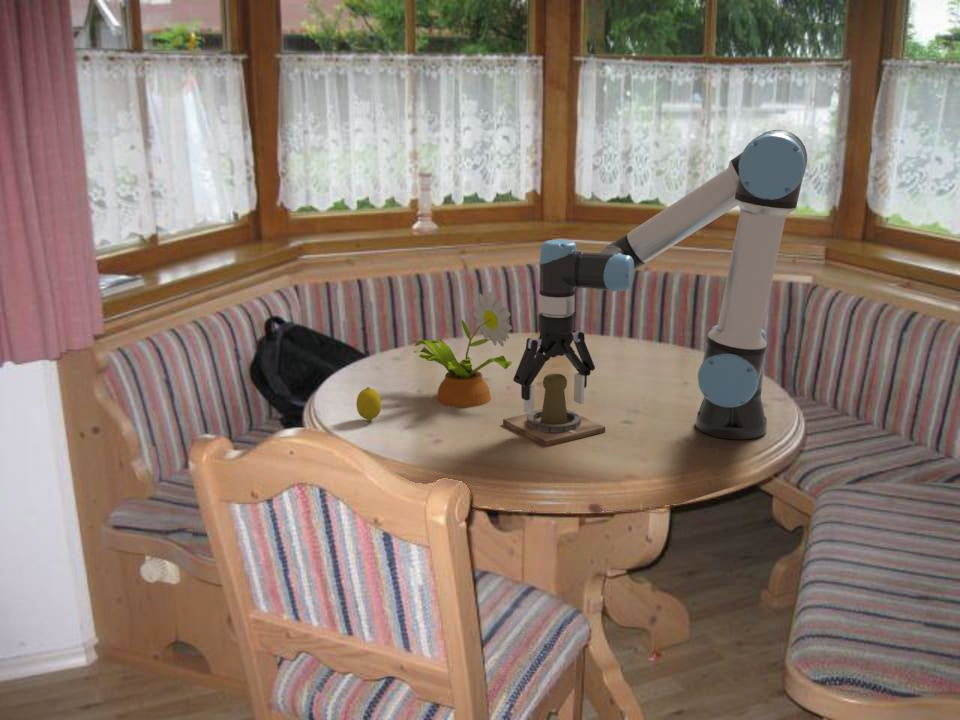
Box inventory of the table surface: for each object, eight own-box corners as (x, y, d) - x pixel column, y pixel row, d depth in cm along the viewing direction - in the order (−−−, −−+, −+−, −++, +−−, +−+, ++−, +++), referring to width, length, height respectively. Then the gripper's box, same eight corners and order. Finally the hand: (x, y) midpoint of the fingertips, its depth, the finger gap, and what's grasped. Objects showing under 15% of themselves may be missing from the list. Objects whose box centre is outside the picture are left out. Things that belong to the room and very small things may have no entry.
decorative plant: (532, 400, 234) (534, 297, 227) (459, 424, 218) (458, 315, 211) (455, 376, 253) (455, 280, 246) (382, 396, 237) (379, 295, 230)
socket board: (605, 432, 214) (605, 421, 213) (546, 446, 205) (546, 435, 205) (560, 411, 226) (560, 401, 226) (503, 424, 218) (503, 413, 217)
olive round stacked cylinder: (539, 418, 218) (539, 370, 215) (566, 417, 218) (567, 370, 215) (541, 427, 212) (542, 379, 209) (569, 427, 213) (570, 378, 210)
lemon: (358, 426, 217) (356, 391, 215) (356, 417, 222) (355, 384, 220) (383, 424, 218) (382, 390, 216) (380, 416, 223) (379, 382, 221)
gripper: (591, 302, 218) (588, 393, 224) (497, 317, 205) (497, 413, 211) (613, 309, 212) (609, 402, 218) (518, 324, 199) (516, 423, 205)
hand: (554, 407), depth 215 cm, fingers open, 13 cm apart
